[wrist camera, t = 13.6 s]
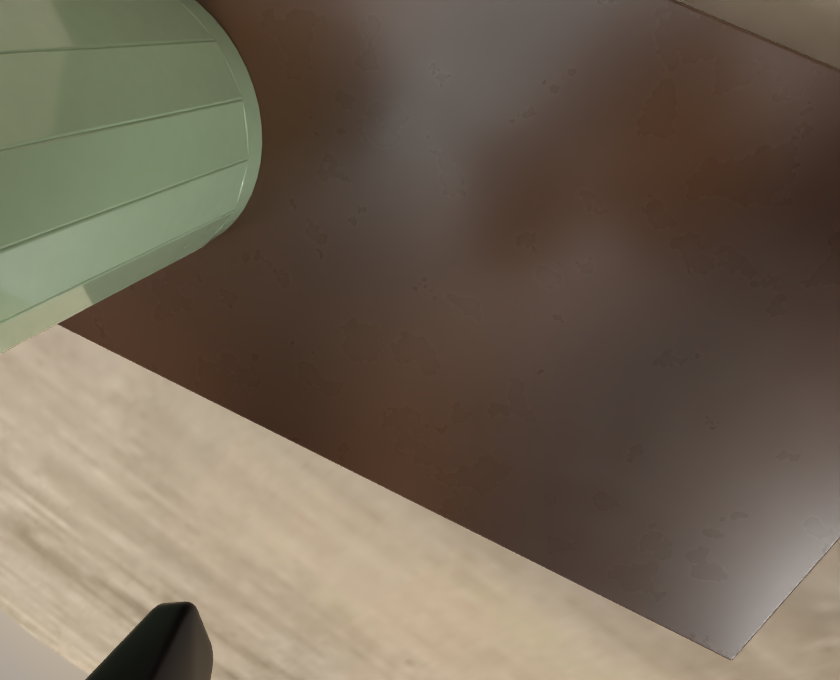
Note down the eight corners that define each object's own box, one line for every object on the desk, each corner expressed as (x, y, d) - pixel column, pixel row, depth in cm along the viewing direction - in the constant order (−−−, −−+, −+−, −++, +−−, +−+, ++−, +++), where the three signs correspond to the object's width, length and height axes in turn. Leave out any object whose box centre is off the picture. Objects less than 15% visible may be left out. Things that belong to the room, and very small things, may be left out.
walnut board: (1097, 181, 15) (1141, 197, 14) (726, 622, 22) (731, 661, 20) (6, -281, 17) (-47, -306, 16) (-34, 245, 24) (-74, 260, 22)
